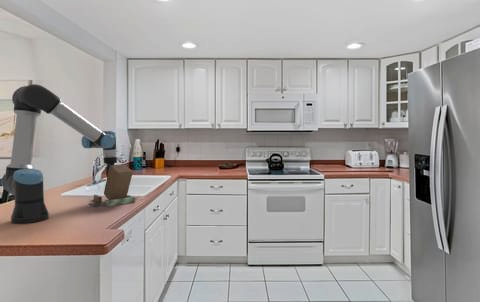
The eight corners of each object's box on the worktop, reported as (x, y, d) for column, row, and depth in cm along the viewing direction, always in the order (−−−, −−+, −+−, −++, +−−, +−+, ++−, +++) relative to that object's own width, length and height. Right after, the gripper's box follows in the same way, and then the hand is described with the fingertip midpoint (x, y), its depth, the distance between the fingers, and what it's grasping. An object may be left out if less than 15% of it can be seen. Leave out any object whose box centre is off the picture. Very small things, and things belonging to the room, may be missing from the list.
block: (118, 191, 209) (125, 163, 202) (126, 200, 203) (133, 171, 197) (102, 194, 202) (109, 164, 195) (110, 203, 196) (117, 173, 189)
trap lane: (95, 207, 184) (95, 202, 184) (83, 201, 204) (82, 196, 204) (143, 201, 201) (143, 196, 201) (127, 195, 221) (127, 190, 220)
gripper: (120, 156, 202) (122, 195, 204) (112, 155, 212) (114, 192, 214) (107, 157, 197) (109, 197, 200) (100, 156, 207) (102, 194, 209)
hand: (112, 195), depth 207 cm, fingers closed
